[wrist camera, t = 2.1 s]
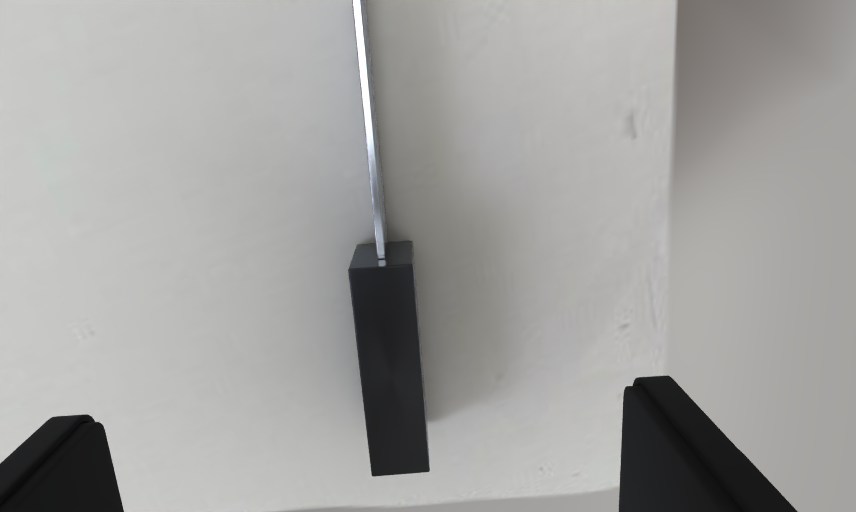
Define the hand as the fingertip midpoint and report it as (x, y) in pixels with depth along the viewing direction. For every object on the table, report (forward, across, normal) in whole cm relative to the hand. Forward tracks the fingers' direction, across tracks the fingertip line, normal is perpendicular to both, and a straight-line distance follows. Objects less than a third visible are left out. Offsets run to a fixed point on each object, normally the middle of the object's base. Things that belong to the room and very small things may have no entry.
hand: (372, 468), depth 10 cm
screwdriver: (+15, 0, -1) cm, 15 cm away
